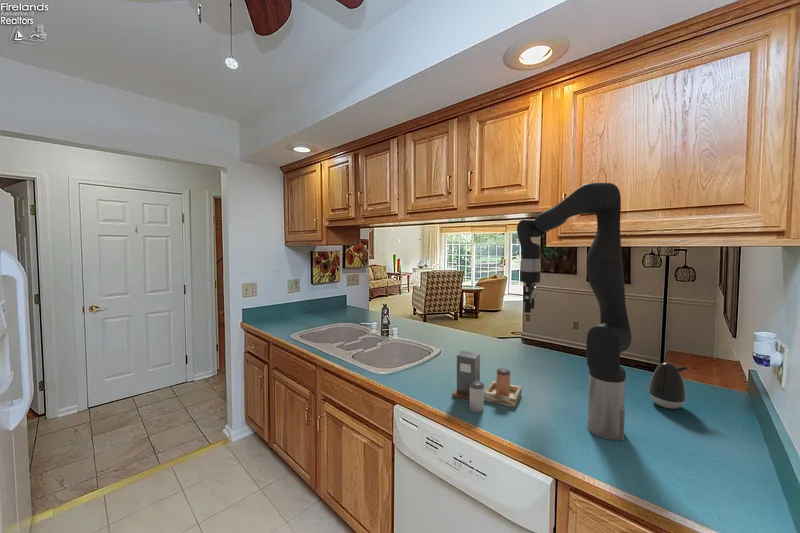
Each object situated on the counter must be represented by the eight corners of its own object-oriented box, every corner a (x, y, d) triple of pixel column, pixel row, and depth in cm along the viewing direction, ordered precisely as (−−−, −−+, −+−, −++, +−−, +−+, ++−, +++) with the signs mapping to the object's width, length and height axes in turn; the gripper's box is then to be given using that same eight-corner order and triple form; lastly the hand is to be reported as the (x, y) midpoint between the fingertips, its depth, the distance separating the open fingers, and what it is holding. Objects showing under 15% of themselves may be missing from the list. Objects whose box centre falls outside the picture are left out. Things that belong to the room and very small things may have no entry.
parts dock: (521, 394, 124) (521, 386, 124) (515, 407, 115) (515, 399, 115) (492, 388, 130) (492, 380, 130) (484, 400, 120) (484, 392, 120)
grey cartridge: (485, 408, 115) (486, 383, 114) (480, 413, 111) (480, 388, 110) (472, 404, 118) (473, 379, 117) (467, 409, 114) (467, 384, 113)
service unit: (483, 391, 127) (484, 352, 126) (475, 402, 118) (476, 360, 117) (461, 386, 132) (461, 348, 130) (452, 397, 123) (452, 356, 122)
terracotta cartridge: (510, 393, 123) (511, 369, 123) (508, 398, 119) (509, 374, 119) (497, 390, 126) (498, 367, 125) (494, 395, 121) (495, 371, 121)
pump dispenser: (692, 414, 109) (694, 370, 108) (654, 409, 112) (656, 366, 111) (678, 400, 118) (680, 359, 117) (643, 396, 122) (645, 356, 121)
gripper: (537, 272, 122) (536, 315, 124) (543, 268, 134) (542, 308, 136) (516, 271, 126) (516, 313, 127) (523, 268, 138) (523, 306, 140)
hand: (529, 310), depth 132 cm, fingers open, 8 cm apart
